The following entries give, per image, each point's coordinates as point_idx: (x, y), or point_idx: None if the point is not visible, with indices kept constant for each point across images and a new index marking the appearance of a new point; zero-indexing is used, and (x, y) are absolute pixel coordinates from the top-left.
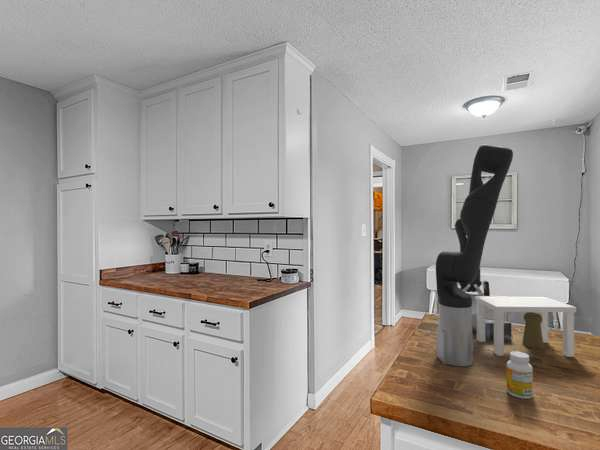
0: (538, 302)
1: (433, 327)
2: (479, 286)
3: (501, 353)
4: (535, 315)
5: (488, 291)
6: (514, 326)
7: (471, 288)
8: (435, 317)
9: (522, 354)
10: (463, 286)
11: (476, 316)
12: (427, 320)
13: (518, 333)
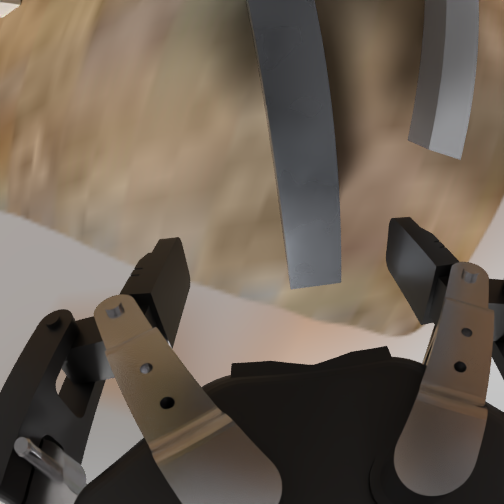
0: None
1: (494, 124)
2: (123, 460)
3: None
4: None
5: (29, 358)
6: (46, 203)
7: (317, 421)
8: None
9: None
10: (495, 415)
11: (302, 7)
12: (475, 243)
13: (52, 79)
